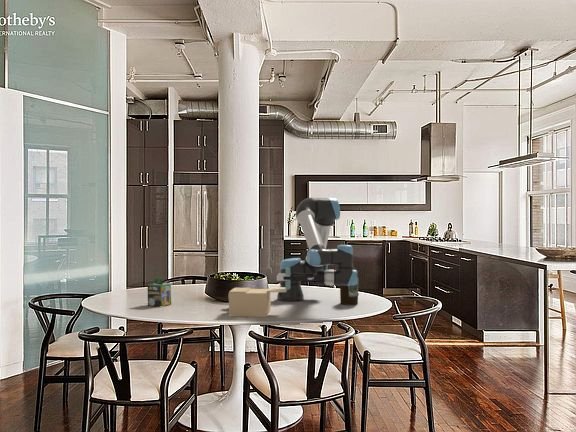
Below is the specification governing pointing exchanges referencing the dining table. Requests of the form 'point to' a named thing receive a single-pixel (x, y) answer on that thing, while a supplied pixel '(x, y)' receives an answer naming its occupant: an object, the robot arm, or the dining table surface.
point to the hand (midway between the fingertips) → (277, 276)
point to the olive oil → (349, 293)
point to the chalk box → (159, 293)
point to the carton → (249, 302)
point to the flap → (281, 289)
